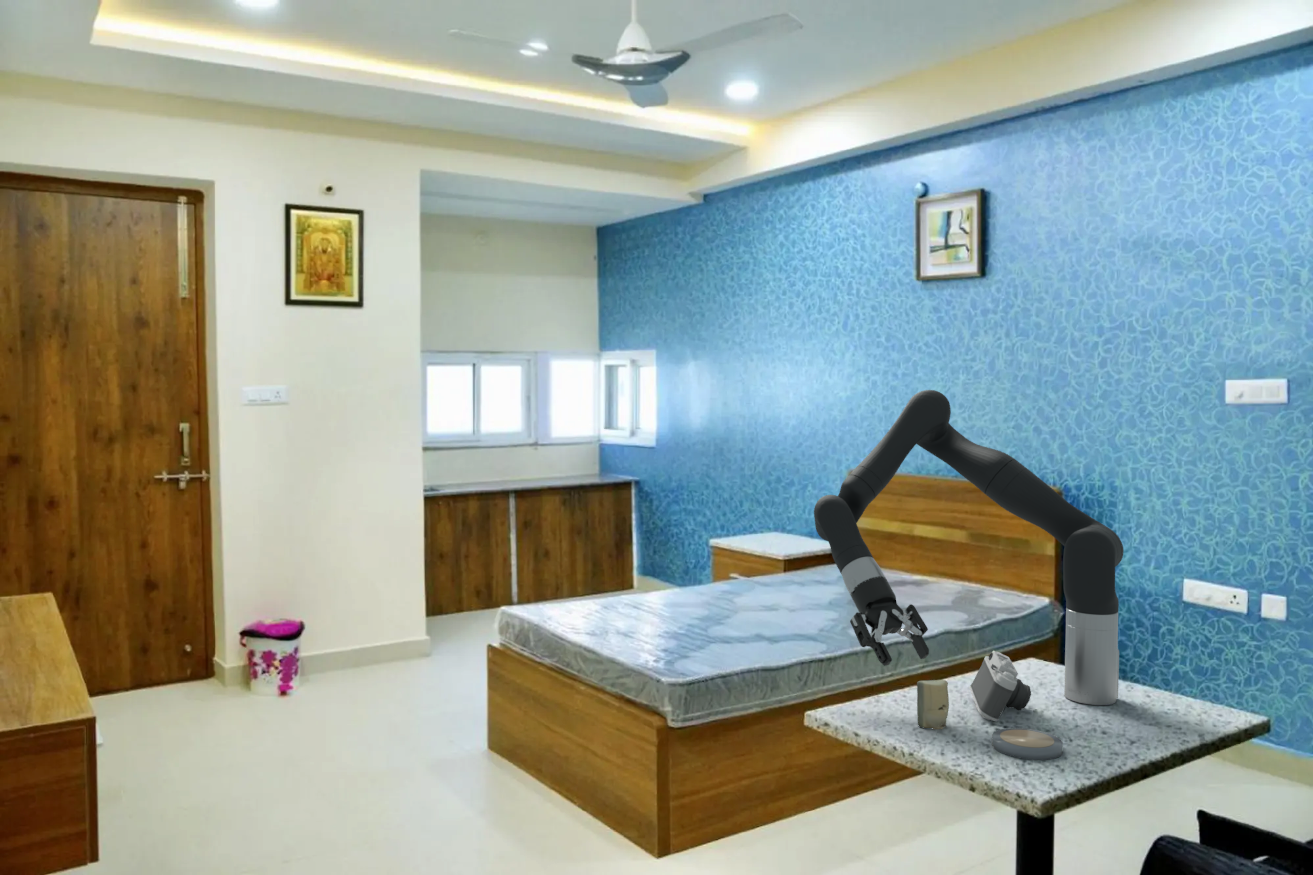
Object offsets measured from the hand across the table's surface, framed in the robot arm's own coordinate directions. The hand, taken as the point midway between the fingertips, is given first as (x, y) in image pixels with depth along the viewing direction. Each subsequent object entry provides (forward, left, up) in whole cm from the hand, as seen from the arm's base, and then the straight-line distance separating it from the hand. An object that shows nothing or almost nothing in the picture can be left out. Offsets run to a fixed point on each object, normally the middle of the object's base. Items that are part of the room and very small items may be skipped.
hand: (906, 660), depth 182 cm
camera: (-16, +9, -10) cm, 21 cm away
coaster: (-3, +23, -10) cm, 26 cm away
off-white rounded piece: (+1, +7, -10) cm, 13 cm away
